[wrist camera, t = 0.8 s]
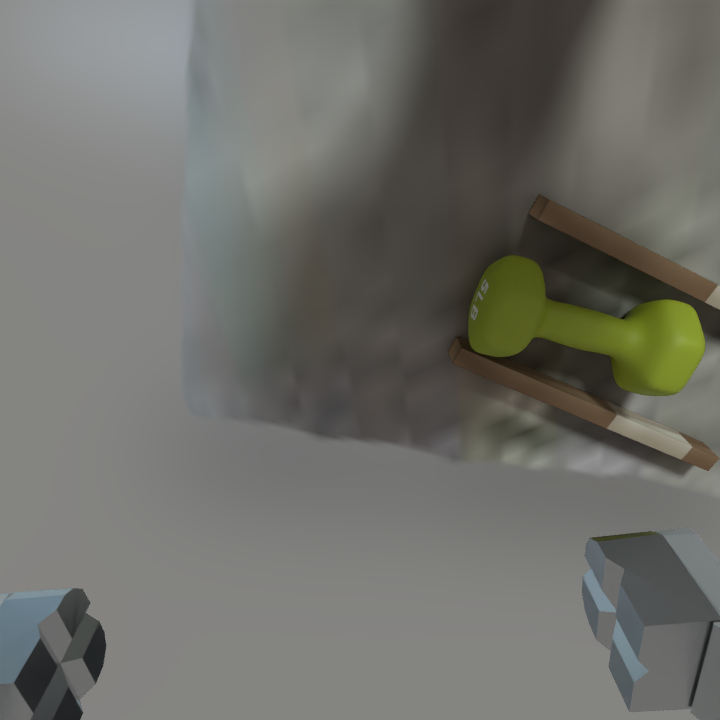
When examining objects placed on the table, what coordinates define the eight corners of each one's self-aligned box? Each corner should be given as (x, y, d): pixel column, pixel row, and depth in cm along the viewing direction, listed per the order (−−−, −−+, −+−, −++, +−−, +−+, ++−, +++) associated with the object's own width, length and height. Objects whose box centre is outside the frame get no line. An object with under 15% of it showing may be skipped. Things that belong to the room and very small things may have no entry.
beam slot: (539, 194, 39) (549, 200, 37) (804, 328, 44) (827, 340, 42) (447, 351, 45) (452, 363, 43) (692, 454, 50) (708, 471, 48)
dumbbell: (452, 328, 44) (469, 368, 38) (489, 236, 41) (514, 262, 35) (629, 377, 46) (674, 422, 40) (678, 293, 43) (735, 327, 37)
